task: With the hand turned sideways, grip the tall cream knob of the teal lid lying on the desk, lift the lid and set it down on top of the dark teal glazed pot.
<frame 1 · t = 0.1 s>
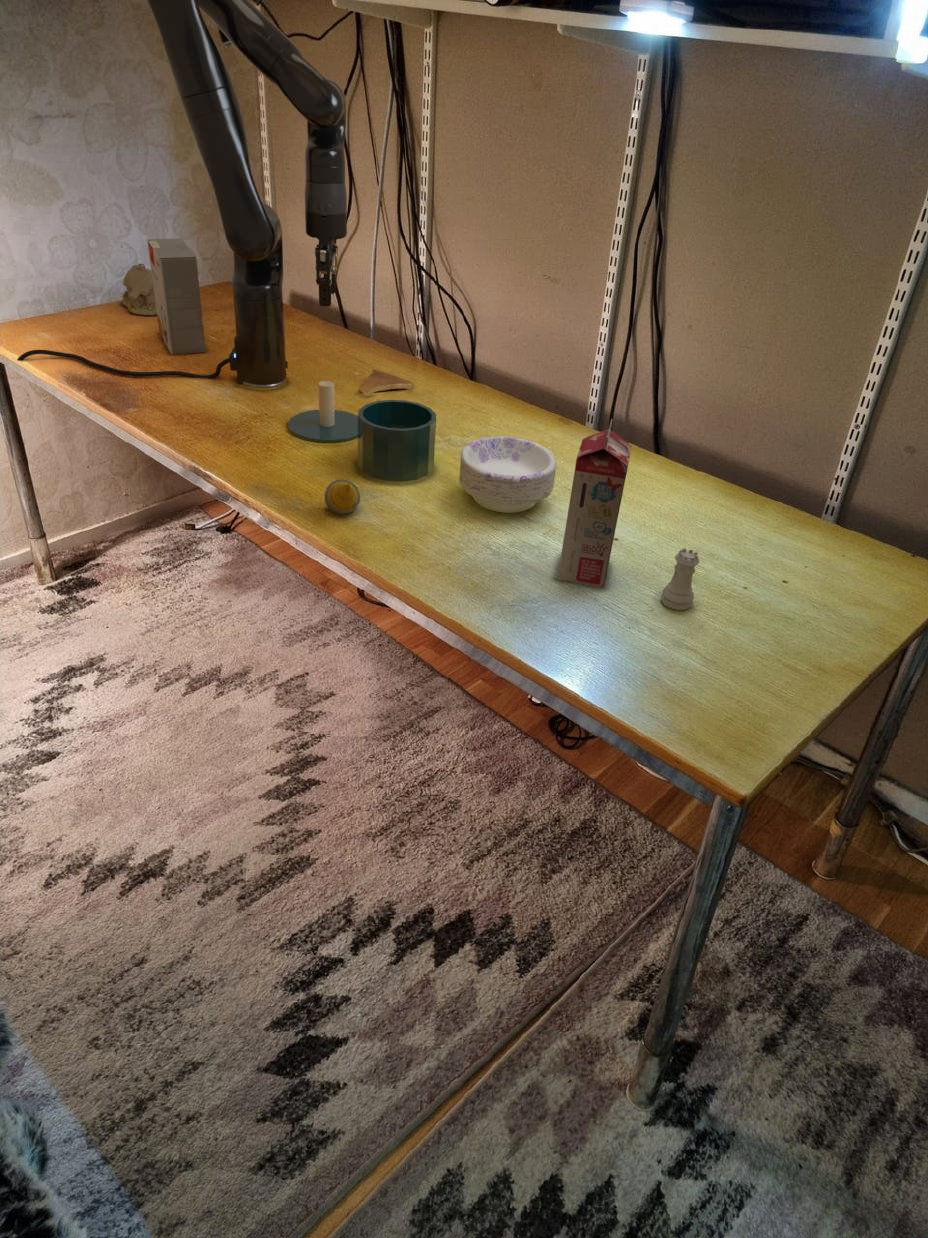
hand: (327, 299, 167), 17 cm above the table, tool pointing down, fingers open, 8 cm apart
pottery shard: (387, 390, 178), on the table
drill bit: (346, 513, 134), on the table
lid: (327, 426, 159), point 1 cm above the table
pot: (395, 467, 149), on the table
rook chess piece: (675, 603, 120), on the table
juice carton: (582, 572, 125), on the table
paper bowls: (504, 501, 142), on the table
hard drive box: (182, 343, 192), on the table
ceramic model: (146, 308, 211), on the table
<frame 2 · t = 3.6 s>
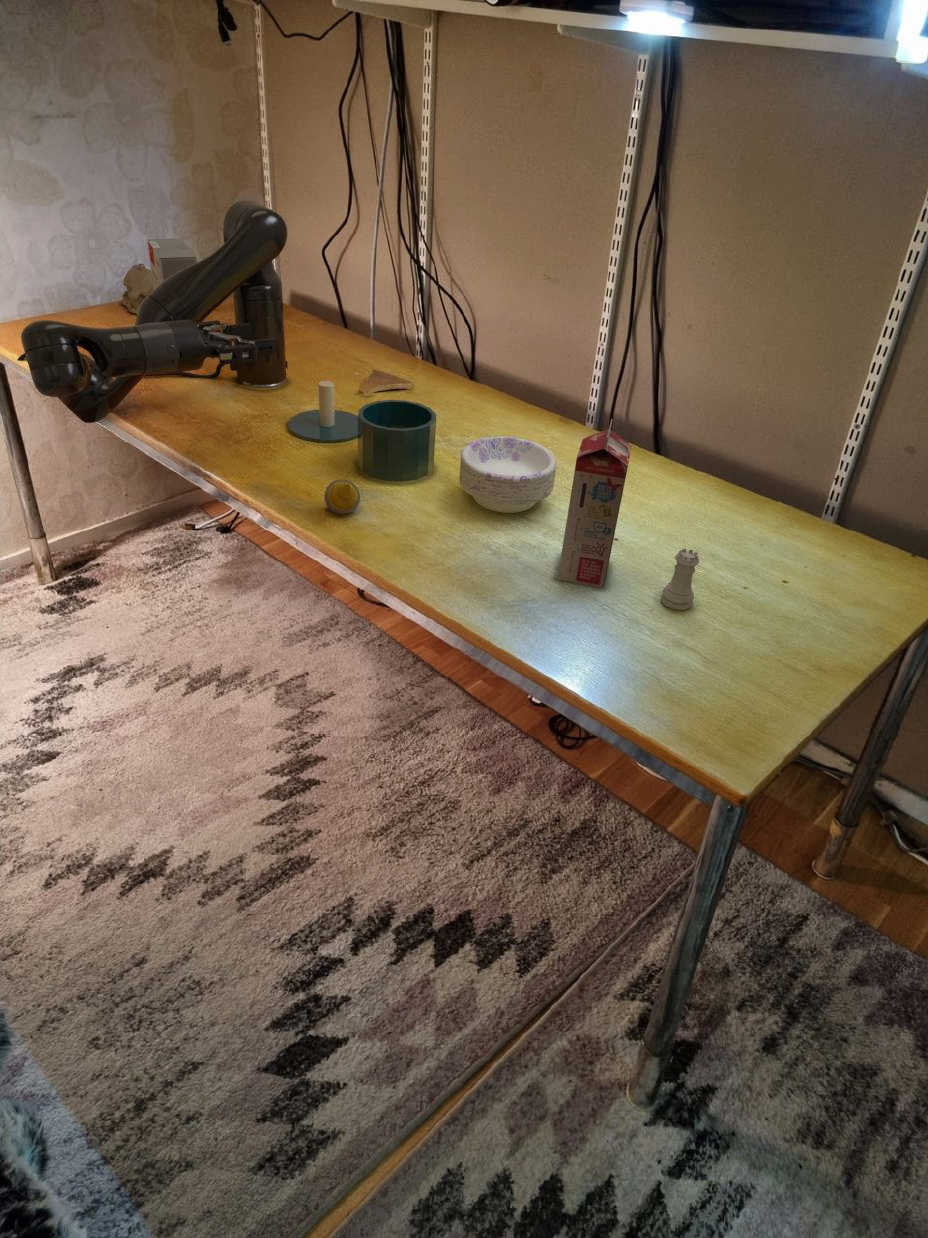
hand: (263, 337, 142), 18 cm above the table, tool horizontal, fingers open, 8 cm apart
nothing on the table moved.
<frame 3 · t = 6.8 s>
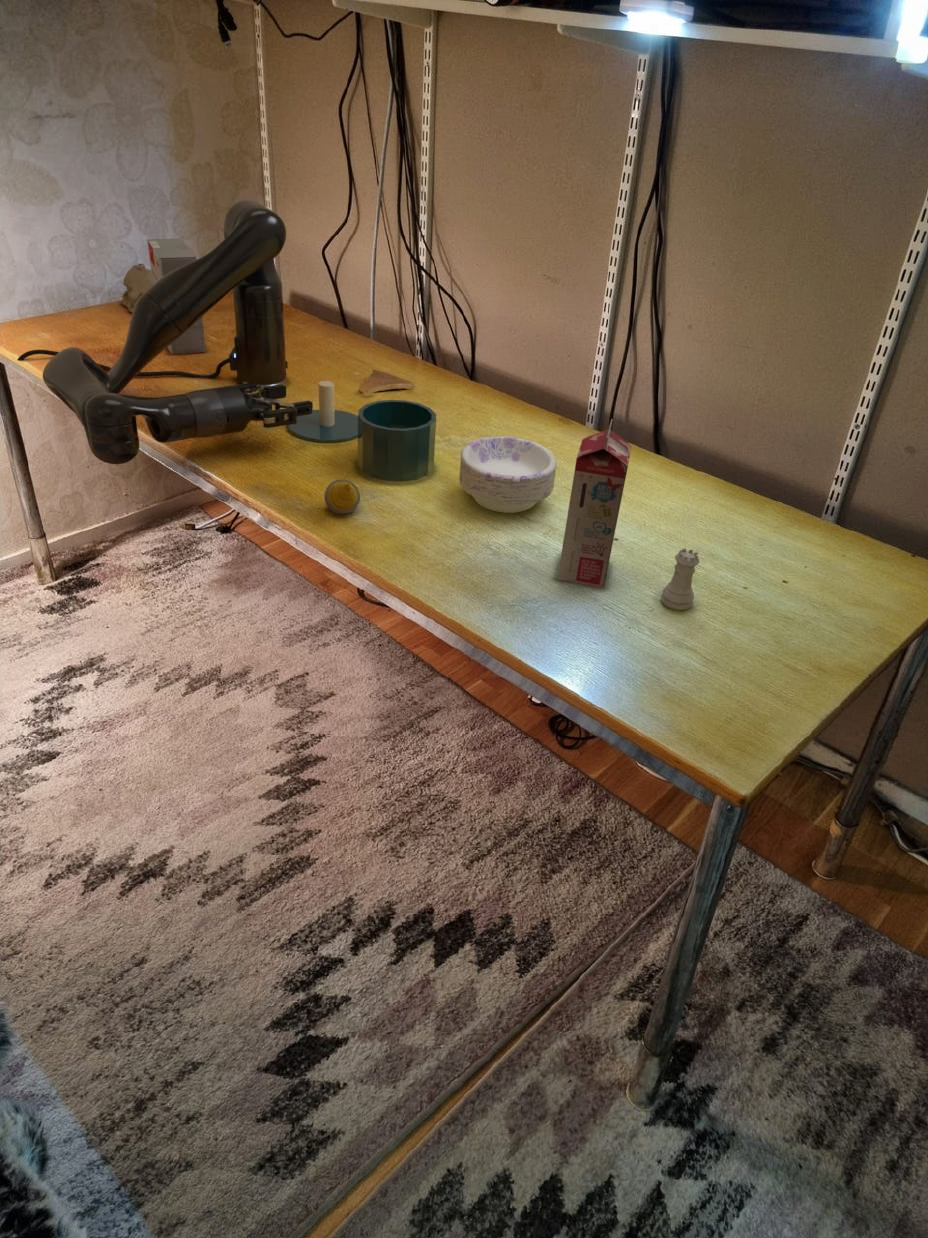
hand: (298, 398, 152), 7 cm above the table, tool horizontal, fingers open, 8 cm apart
nothing on the table moved.
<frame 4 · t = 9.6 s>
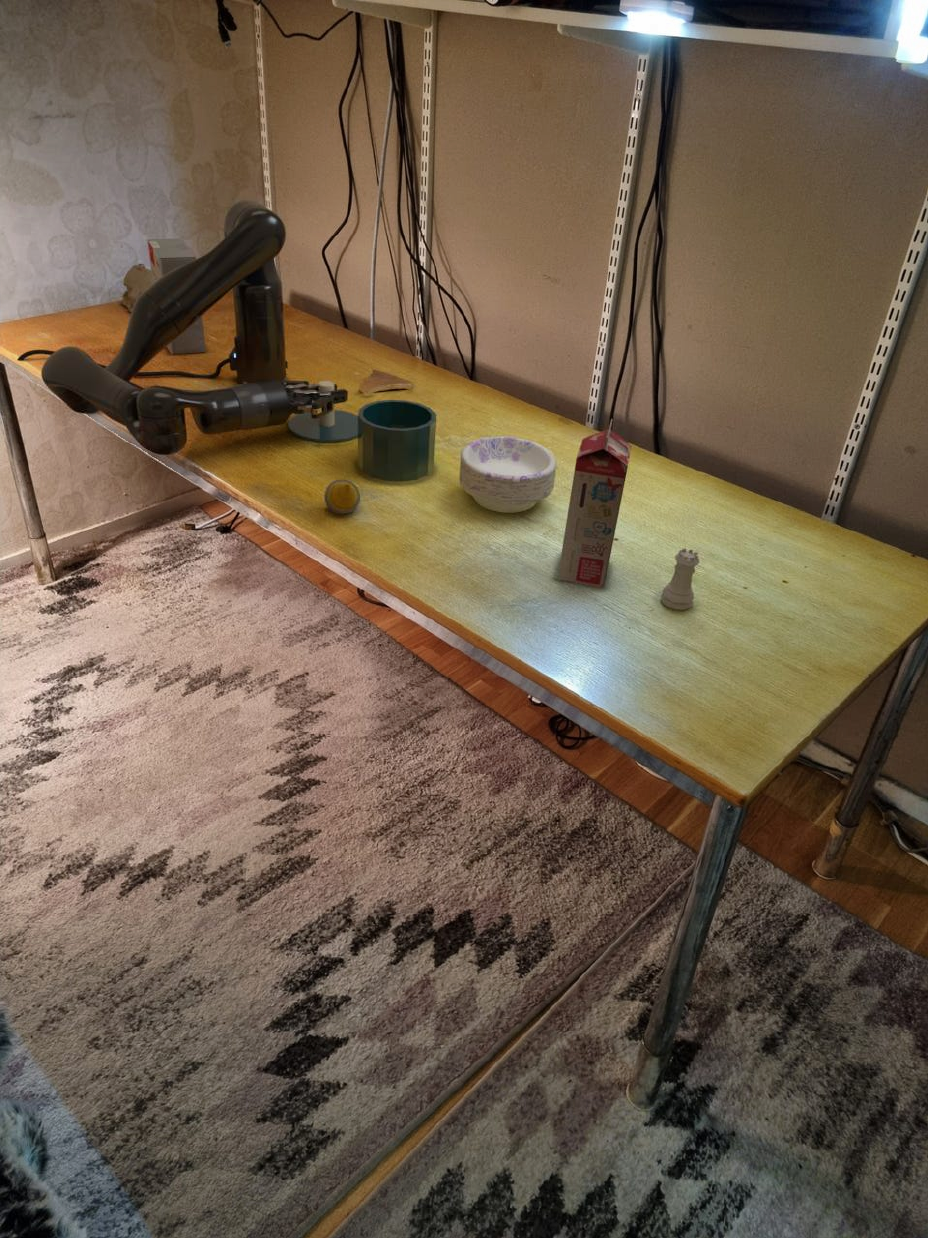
hand: (340, 392, 157), 7 cm above the table, tool horizontal, fingers closed on lid, 2 cm apart
lid: (327, 426, 159), point 1 cm above the table, touching gripper
everything else where it was.
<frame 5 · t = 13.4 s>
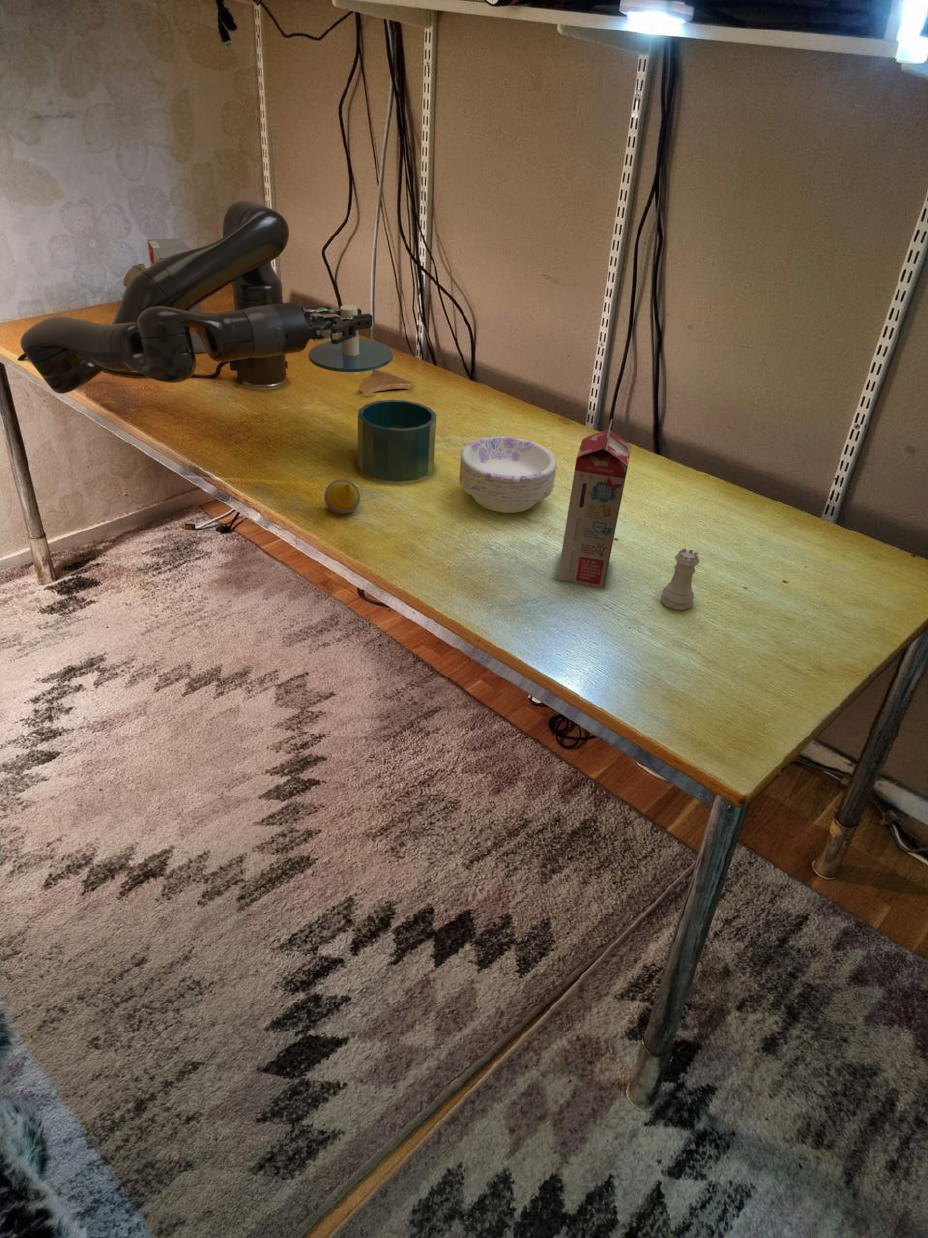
hand: (365, 317, 144), 22 cm above the table, tool horizontal, fingers closed on lid, 3 cm apart
lid: (351, 356, 146), point 16 cm above the table, touching gripper
everything else where it was.
when the fingers open (16 cm above the table, at t = 17.2 s): lid stays where it is, resting on pot.
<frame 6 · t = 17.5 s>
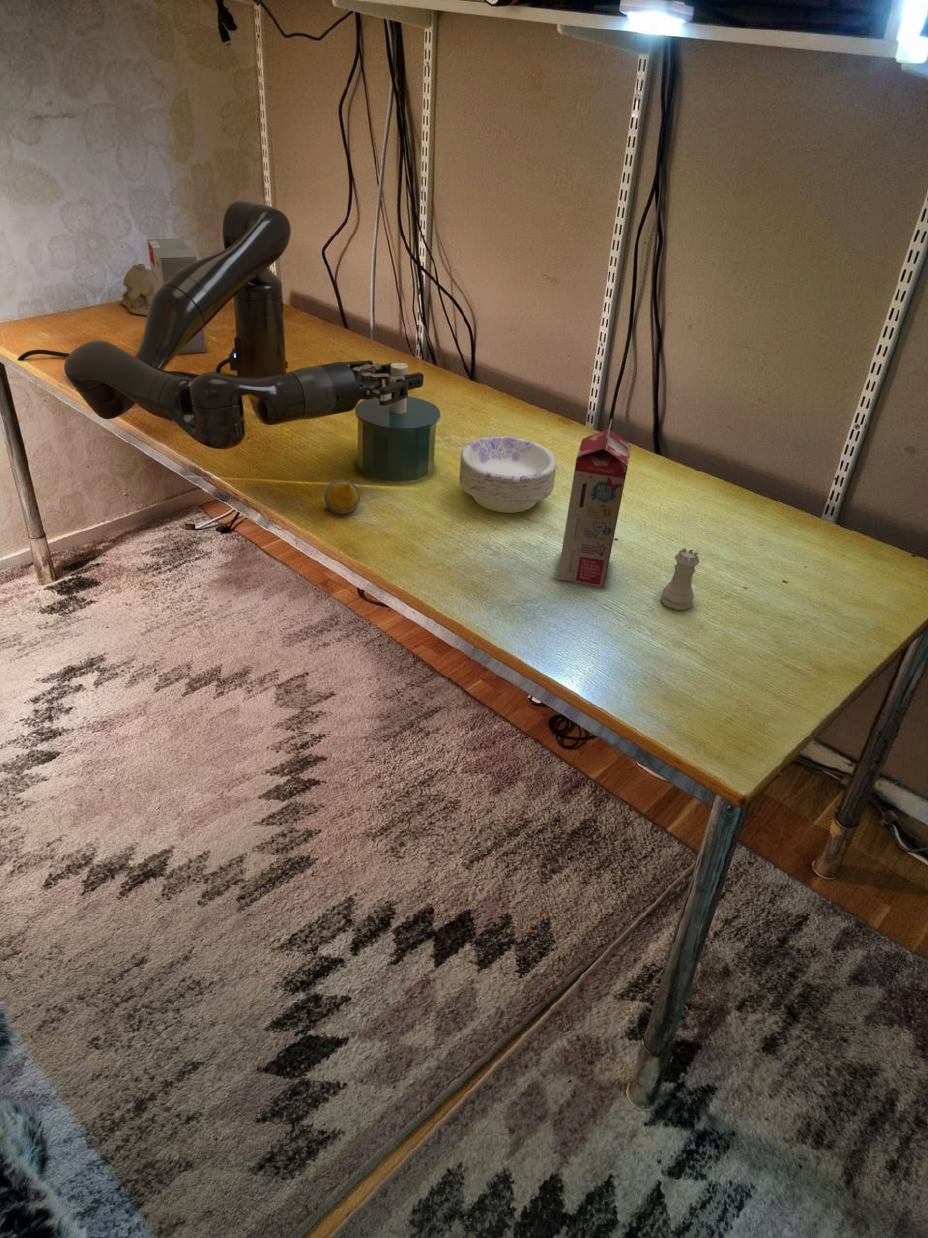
hand: (411, 373, 141), 16 cm above the table, tool horizontal, fingers open, 5 cm apart
lid: (397, 414, 143), point 9 cm above the table, touching pot
everything else where it was.
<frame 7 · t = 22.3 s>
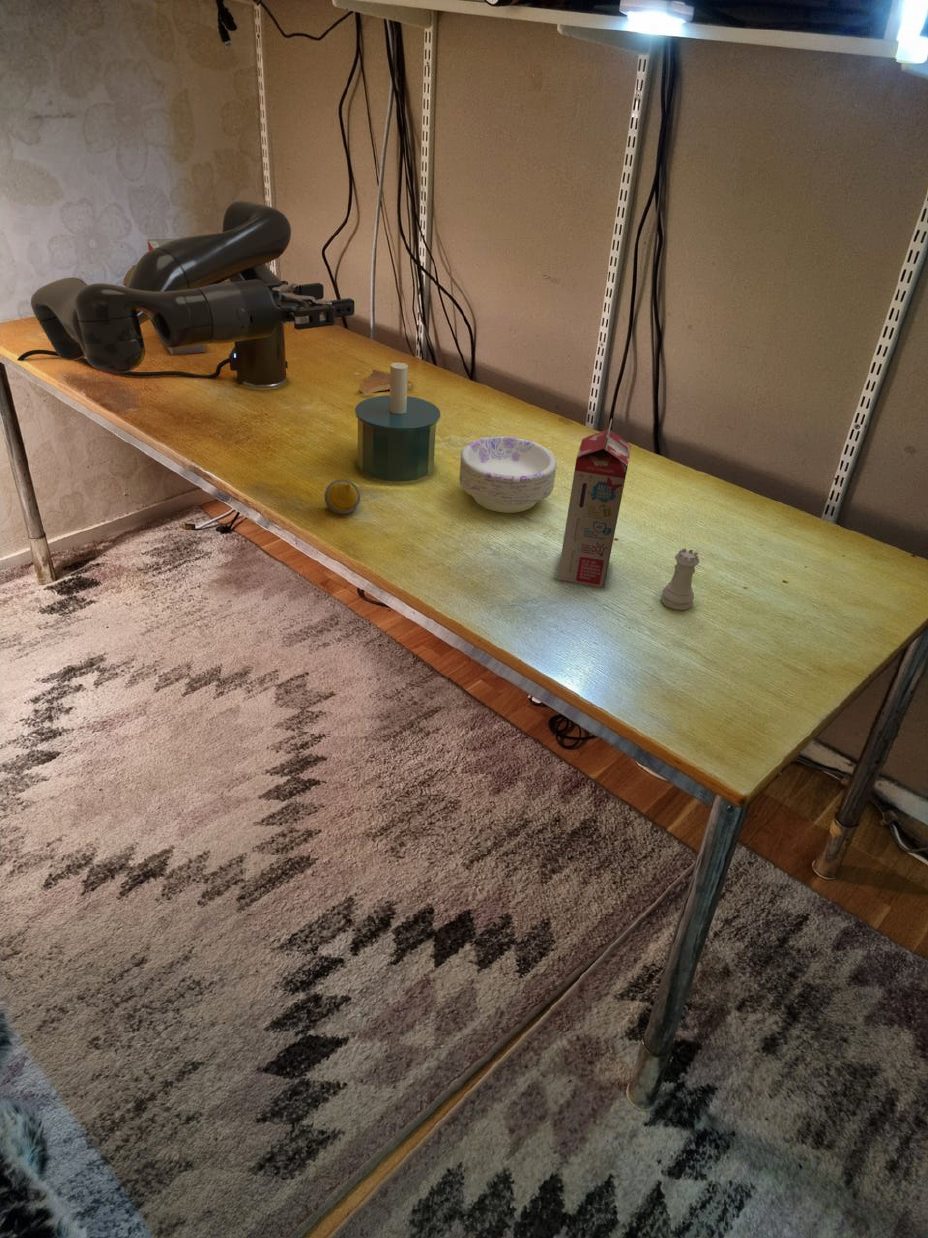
hand: (337, 298, 126), 29 cm above the table, tool horizontal, fingers open, 8 cm apart
nothing on the table moved.
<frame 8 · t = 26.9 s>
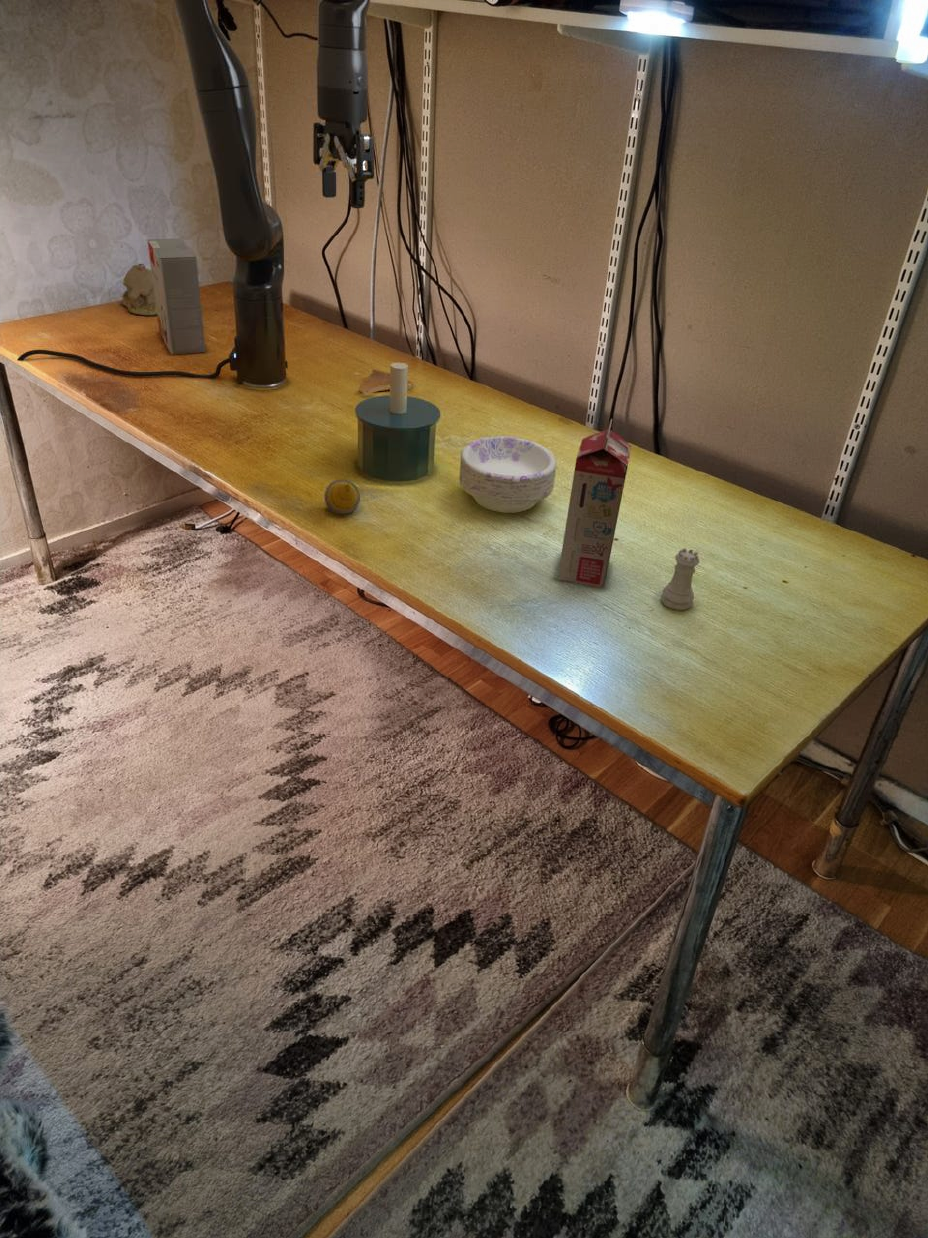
hand: (343, 202, 139), 38 cm above the table, tool pointing down, fingers open, 8 cm apart
nothing on the table moved.
at the end: lid 0.1 cm off-centre on the pot, point 9.5 cm above the pot's base; lid tilted 0°; the gripper is holding nothing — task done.
